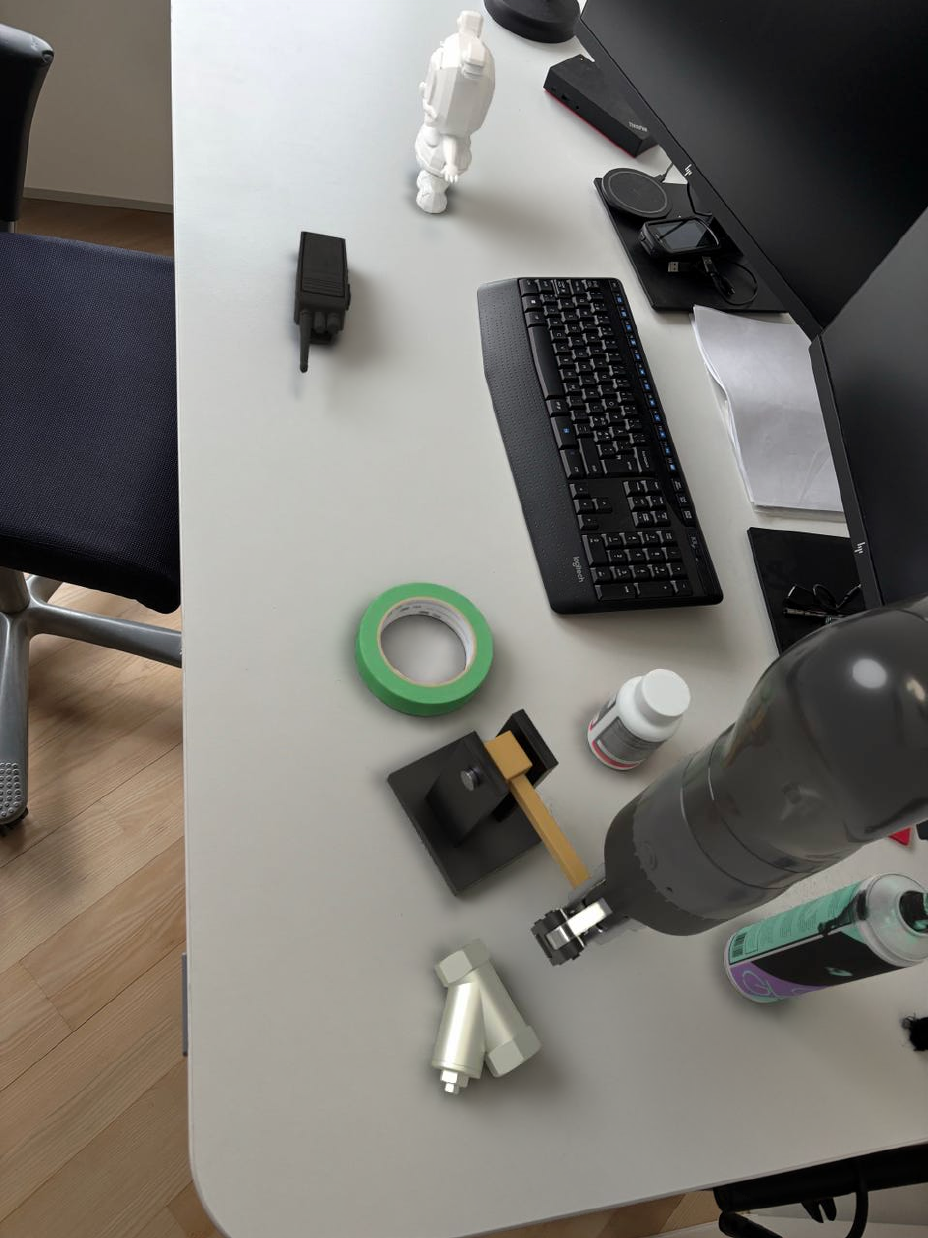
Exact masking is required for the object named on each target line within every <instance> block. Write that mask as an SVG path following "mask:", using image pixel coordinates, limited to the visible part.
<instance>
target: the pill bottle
mask: <svg viewBox="0 0 928 1238" xmlns="http://www.w3.org/2000/svg"><path fill="white" fill-rule="evenodd" d="M691 699H692V697H691V691H690V688H689V686H688V685H687V683H686V682H685V680H684V679H683V678H682V677H681V676H680V675H679V674H678V673H676V672H674V671H672V670H670V669H667V668H666V669H665V668H655V669H652V670H650V671H649V672H647V674H645V675H639V676H635V677H633V678H630V679H629V680H627V681H626V682H625V683H623V684H622V685H621V687H620V688H619V689H618V690H617V691H616V692H615V693H614V694H613V695H612V696H611V698H609V700H608V701H607V702H606V703H605V704H604V705H603V706H602V707H601V708H600V710H599V711H598V712H597V713H596V714H595V716H593V717H592V719H591V720H590V722H589V725H588V728H587V741H588V745H589V747H590V749H591V751H592V753H593V755H594V756H595V757H596V758H597V759H598V760H599V761H600V762H601V763H602V764H604V765H606V766H607V767H609V768H612V769H615V770H619V771H620V770H622V771H624V770H625V771H626V770H631V769H634V768H636V767H637V766H639V765H640V764H642V763H643V762H644V761H645V760H646V759H648V757H649V756H651V755H652V754H653V753H654V752H656V750H657V749H659V748H660V747H661V746H662V745H664V744H665V743H666V742H667V741H668V740H669V739H671V738H672V737H673V736H674V735H675V734H676V733H677V731H678V730H679V729H680V726H681V725H682V722H683V717H684V714H685V713H686V712H687V711H688V709H689V707H690V705H691Z"/></svg>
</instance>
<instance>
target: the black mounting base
mask: <svg viewBox="0 0 928 1238" xmlns="http://www.w3.org/2000/svg"><path fill="white" fill-rule="evenodd" d="M508 731H511V733H512V734H513V736H514V737H515V739H516V740H517V742H518V743H519V745H520V746H521V748H522V749H523V751H524V753H525V754H526V756H527V757H528V759H529V760H530V762H531V763H532V767H531V768H530V769H529V770H528V772H527V773H526V774H525V776H526V778H527V779H528V781H529V782H530V784H531V785H532V787H533V788H534V790H535V791H536V789H537V788H538V787H539V785H541V784H542V783H543V781H544V780H546V778H547V777H548V776H549V775H550V774H551V773H552V772H553V770H555V768H556V767H558V766H559V761H558V759H557V758H556V756H555V755H554V754H553V752H552V751H551V749H550V747H549V746H548V744H547V743H546V741H545V740H544V737H542V735H541V734H540V732H539V730H538V729H537V727H536V726H535V725H534V723H533V721H532V719H531V718H530V717H529V715H528V714H527V712H526V711H525V709H524V708H520V709H519V710H517V711H515V712H512V713H511V714H510V716H509V717H508V719H507V720H506V721H505V723H504V724H503V725H502V727H501V729H500V730H499V731H498V732H497V734H496V735H495V736H494V738H496V737H498V736H500V735H502V734H504V733H506V732H508ZM484 744H485V743H484V742H483V740H482V739H481V737H480V735H479V734H478V732H477V730H473V731H471V732H469V733H467V734H466V735H464V736H462V737H459V738H458V739H455V740H453V741H452V742H450V743H448V744H446V745H444V746H442V747H440V748H437V749H436V750H434V751H432V752H431V753H428V754H426V755H424V756H422V757H419V758H417V760H415V761H412V762H410V763H408V764H407V765H405V766H403V767H401V768H399V769H397V770H395V771H393V772H391V773H389V774H388V777H386V781H387V783H388V785H389V786H390V788H391V790H392V791H393V793H394V795H395V797H396V799H397V800H398V802H399V803H400V805H401V807H402V809H403V810H404V812H405V814H406V815H407V817H408V820H409V821H410V822H411V824H412V825H413V827H414V829H415V831H416V833H417V834H418V836H419V838H420V840H421V841H422V843H423V845H424V846H425V848H426V850H427V851H428V853H429V854H430V858H431V859H432V860H433V861H434V864H435V865H436V867H437V870H438V871H439V872H440V874H441V876H442V877H443V879H444V881H445V882H446V884H447V886H448V888H449V889H450V891H451V893H452V894H453V896H457V895H458V894H460V893H462V892H463V891H465V890H467V889H468V888H470V887H472V886H473V885H475V884H477V883H478V882H479V881H481V880H483V879H485V878H486V877H489V876H490V875H491V874H493V873H495V872H496V871H499V870H500V869H501V868H503V867H504V866H506V865H508V864H509V863H511V862H513V861H515V860H516V859H517V858H519V857H521V856H523V855H524V854H526V853H528V852H530V851H531V850H533V849H535V848H536V847H538V846H539V845H541V844H542V843H544V842H543V841H542V839H541V838H540V836H539V834H538V833H537V831H536V830H535V828H534V827H533V825H532V824H531V822H530V820H529V819H528V817H527V816H526V814H525V813H524V811H523V810H522V808H521V806H520V805H519V803H518V802H517V800H516V799H515V797H514V796H513V794H512V792H511V791H510V789H509V787H508V786H507V784H506V783H505V781H504V779H503V778H502V776H501V775H500V773H499V771H498V770H497V768H496V767H495V765H494V764H493V762H492V760H491V759H490V757H489V756H488V754H487V752H486V751H485V749H484V748H483V745H484Z"/></svg>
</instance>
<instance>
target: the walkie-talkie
mask: <svg viewBox="0 0 928 1238" xmlns="http://www.w3.org/2000/svg"><path fill="white" fill-rule="evenodd" d="M299 237H300V238H299V247H298V254H297V255H298V256H297V264H296V275H295V288H294V289H295V290H294V307H293V322H294V324H295V325H297V326H299V338H300V339H299V371H300V372H301V373H302V374H306V373H307V372H308V369H309V364H308V363H309V359H310V358H309V356H310V355H309V354H310V342H311V343H312V342H313V343H319V344H325V345H331V344H333V343H332V342H333V335H336V334H338V333H339V332H342V331H343V330H344V326H345V321H346V314H347V312H348V311H349V309H350V306H351V300H352V292H351V284H350V283H349V268H348V253H347V241H346V240H347V239H346V238H344V237H340V236H334V235H328V234H323V233H317V232H311V231H304V230H303V231H300V236H299Z"/></svg>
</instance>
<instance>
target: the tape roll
mask: <svg viewBox="0 0 928 1238" xmlns="http://www.w3.org/2000/svg"><path fill="white" fill-rule="evenodd" d="M480 611H481V610H479V609H478V607H476V605H475V604H474V603H472V602H471V601H470V599H468V598H466V597H465V596H464V595H462V594H461V593H459V592H458V591H456V590H453V589H451V588H449V587H446V586H443V585H440V584H437V583H430V582H410V583H405V584H400V585H397V586H394V587H391V588H389V589H388V590H385V591H384V592H382V593H381V594H380V595H379V596H377V597H376V598H375V599H374V600H373V601H372V602H371V603H370V604H369V606H368V607H367V609H366V610H365V612H364V614H363V617H362V619H361V622H360V625H359V627H358V632H357V635H356V639H355V646H354V647H355V648H354V657H355V663H356V667H357V670H358V672H359V675H360V677H361V679H362V681H363V682H364V683H365V685H366V687H367V688H368V690H369V691H370V692H371V693H372V694H373V695H374V696H375V697H376V698H378V699H379V701H380V702H382V703H384V704H385V705H387V706H388V707H390V708H392V709H394V710H396V711H398V712H402V713H404V714H408V715H412V716H417V717H418V716H419V717H434V716H440V715H444V714H445V715H446V714H448V713H450V712H454V711H456V710H457V709H458V710H459V708H461V707H463V706H464V705H465V704H467V703H468V702H469V701H470V700H471V699H472V698H473V697H474V695H476V693H477V692H478V690H479V689H480V688H481V686H482V684H483V683H484V681H485V679H486V678H487V676H488V674H489V672H490V669H491V667H492V663H493V659H494V658H493V657H494V641H493V636H492V632H491V629H490V626H489V624H488V621H487V620H486V618H485V617H484V615H483V614H482V612H480ZM410 615H422V616H423V615H424V616H429V617H433V618H435V619H437V620H439V621H442V622H443V623H445V624H446V625H448V626H449V627H450V628H451V629H452V630H453V631H454V632H455V633H456V634H457V635H458V637H459V638H460V640H461V642H462V644H463V648H464V650H465V655H466V656H465V658H466V661H465V668H464V670H462V672H460V674H458V675H457V676H456V677H454V678H451V679H450V680H447V681H445V682H439V683H428V682H427V683H426V682H422V681H421V682H420V681H416V680H414V679H411V678H409V677H407V676H405V675H404V674H403V673H401V672H400V671H399V670H398V669H396V668H394V667H393V665H392V664H391V663H390V662H389V661H388V659H387V657H386V655H385V653H384V651H383V648H382V642H381V635H382V632H383V631H384V629H386V628H387V626H389V625H390V623H391V624H392V622H393V621H395V620H398V619H399V618H402V617H406V616H410Z"/></svg>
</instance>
